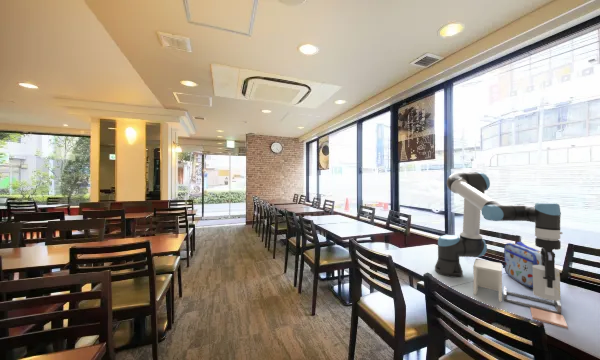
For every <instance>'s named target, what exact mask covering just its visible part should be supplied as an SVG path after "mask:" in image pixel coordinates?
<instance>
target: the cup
mask: <svg viewBox="0 0 600 360" xmlns="http://www.w3.org/2000/svg"><path fill="white" fill-rule="evenodd" d="M532 270H533V288H532V294H533V295H534V296H536V297H538V298H539V299H543V300H547V301H552V302H554V301H559V302H560V301H561V298H562V297H561V276H560V269H558V268H556V267H555V280H554V296H551V295H547V294H545V279H543V277H545V266H543V265H533V266H532ZM550 277H551V276H550Z"/></svg>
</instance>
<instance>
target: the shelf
mask: <svg viewBox="0 0 600 360" xmlns="http://www.w3.org/2000/svg"><path fill="white" fill-rule="evenodd" d="M473 263H474V264H473V265H472V266H473V267H472V268H473V286H472V288H473V295H475V296H477V294H478V289H479V288H484V289H488V290H491V291H492V290H493V291H495V292H498V302H503V295H502V294H503V286H502V285H503V275H502V274H503V271H502V270H503V262H502V263H501V262H496V261H491V260H486V259H479V258H475V259H474V262H473Z"/></svg>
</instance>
